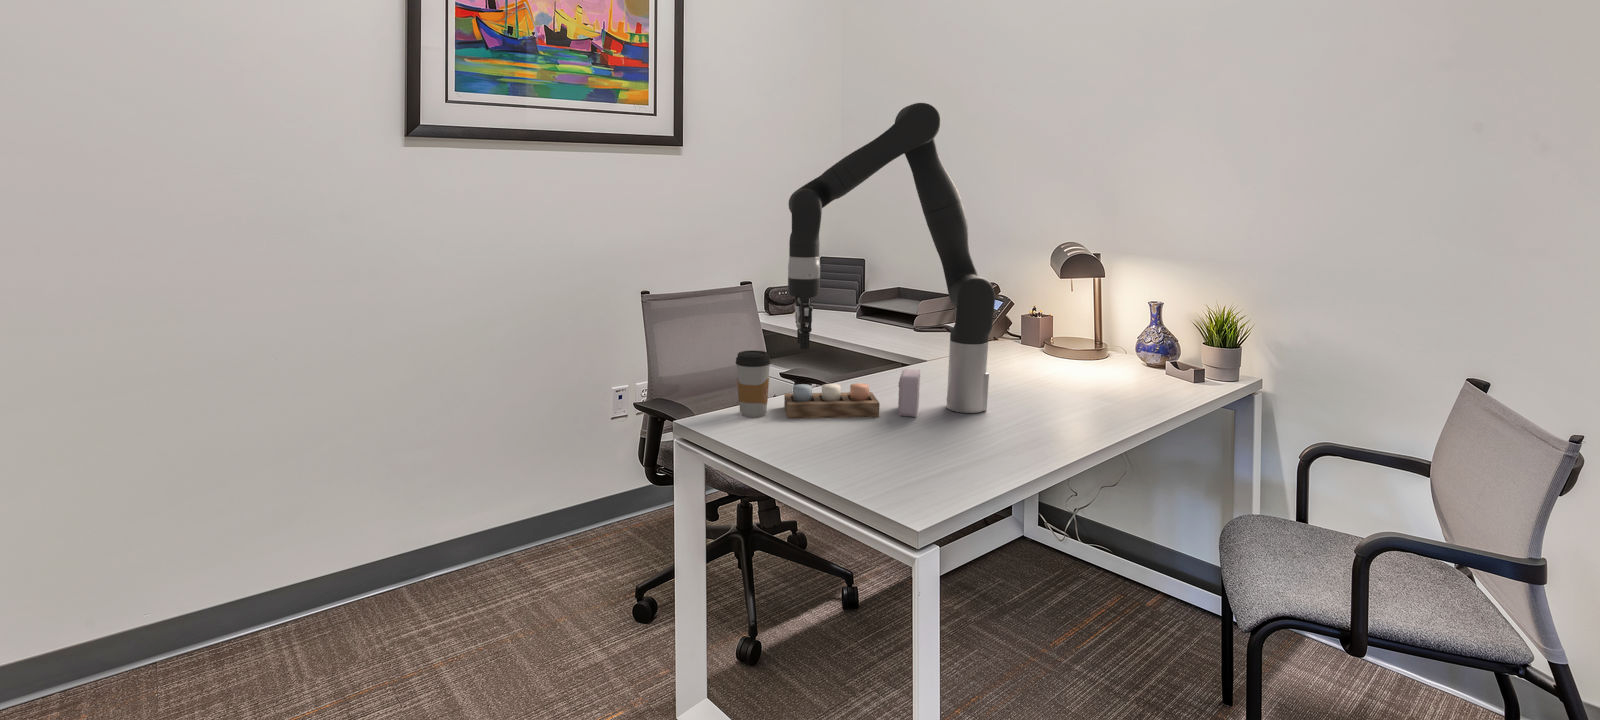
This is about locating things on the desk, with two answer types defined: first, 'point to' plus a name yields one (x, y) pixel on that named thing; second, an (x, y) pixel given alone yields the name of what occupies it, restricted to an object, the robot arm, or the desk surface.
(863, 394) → the pink rounded block
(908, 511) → the desk surface
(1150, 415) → the desk surface
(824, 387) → the cream key
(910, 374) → the electronic device
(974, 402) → the robot arm
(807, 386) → the light blue rounded block
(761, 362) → the coffee cup
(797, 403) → the brown wooden tray
